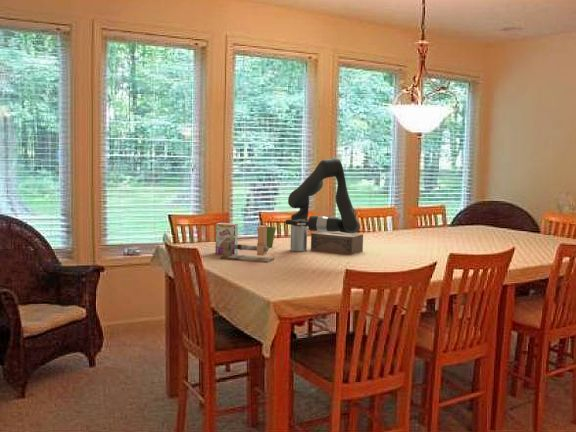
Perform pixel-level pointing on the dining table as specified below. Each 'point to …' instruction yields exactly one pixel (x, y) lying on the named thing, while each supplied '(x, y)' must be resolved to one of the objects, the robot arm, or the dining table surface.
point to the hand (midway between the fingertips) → (286, 222)
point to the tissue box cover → (337, 242)
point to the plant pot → (270, 235)
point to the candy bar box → (226, 236)
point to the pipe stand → (228, 255)
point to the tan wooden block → (262, 240)
